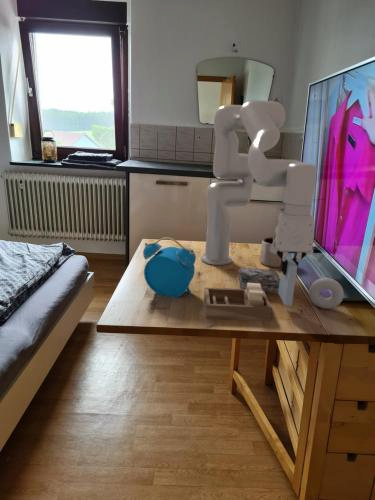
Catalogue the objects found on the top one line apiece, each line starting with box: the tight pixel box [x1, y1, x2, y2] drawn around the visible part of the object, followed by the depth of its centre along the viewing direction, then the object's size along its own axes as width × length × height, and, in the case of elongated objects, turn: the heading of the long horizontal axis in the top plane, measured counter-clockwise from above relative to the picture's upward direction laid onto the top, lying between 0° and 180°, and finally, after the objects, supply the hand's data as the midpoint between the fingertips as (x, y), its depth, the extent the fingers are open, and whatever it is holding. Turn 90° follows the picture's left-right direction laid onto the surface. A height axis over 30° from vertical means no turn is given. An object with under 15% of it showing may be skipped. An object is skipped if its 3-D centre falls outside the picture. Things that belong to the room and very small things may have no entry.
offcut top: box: [247, 283, 263, 301], centre depth 110 cm, size 7×4×2 cm, turn 176°
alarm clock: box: [142, 236, 197, 298], centre depth 119 cm, size 17×10×20 cm, turn 71°
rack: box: [203, 287, 273, 322], centre depth 112 cm, size 12×18×5 cm, turn 90°
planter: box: [259, 236, 289, 269], centre depth 153 cm, size 11×11×10 cm
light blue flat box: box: [278, 255, 298, 307], centre depth 109 cm, size 8×2×12 cm, turn 0°
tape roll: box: [308, 277, 345, 310], centre depth 116 cm, size 10×3×10 cm, turn 71°
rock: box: [237, 267, 280, 295], centre depth 126 cm, size 16×8×10 cm, turn 73°
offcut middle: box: [244, 290, 264, 306], centre depth 111 cm, size 8×4×2 cm, turn 3°
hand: (288, 272), depth 108 cm, fingers closed on light blue flat box, 2 cm apart
